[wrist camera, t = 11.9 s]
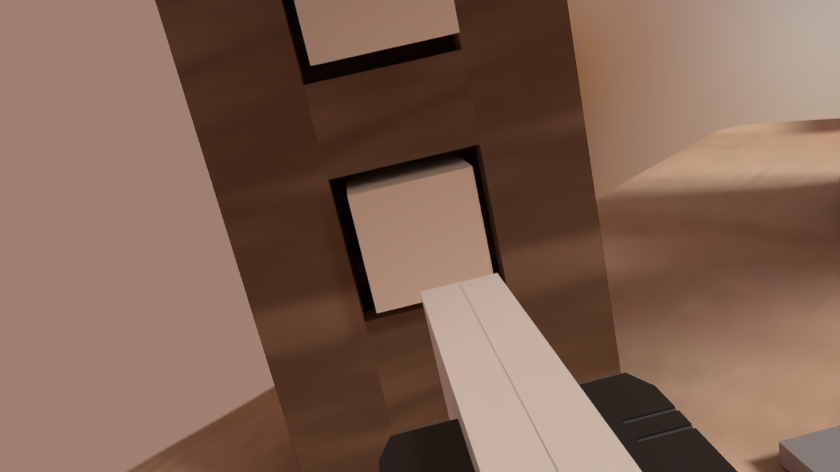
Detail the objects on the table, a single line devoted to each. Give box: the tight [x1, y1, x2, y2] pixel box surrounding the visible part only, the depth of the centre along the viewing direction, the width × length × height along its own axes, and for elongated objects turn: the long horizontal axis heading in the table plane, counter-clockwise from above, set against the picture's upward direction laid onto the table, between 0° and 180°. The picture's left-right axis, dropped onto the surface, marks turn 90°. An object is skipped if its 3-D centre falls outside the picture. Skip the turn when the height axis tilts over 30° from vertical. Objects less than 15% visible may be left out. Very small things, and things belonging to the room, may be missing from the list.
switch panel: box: [155, 0, 621, 472], centre depth 22 cm, size 5×12×31 cm, turn 97°
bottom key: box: [346, 151, 493, 313], centre depth 23 cm, size 4×4×4 cm
